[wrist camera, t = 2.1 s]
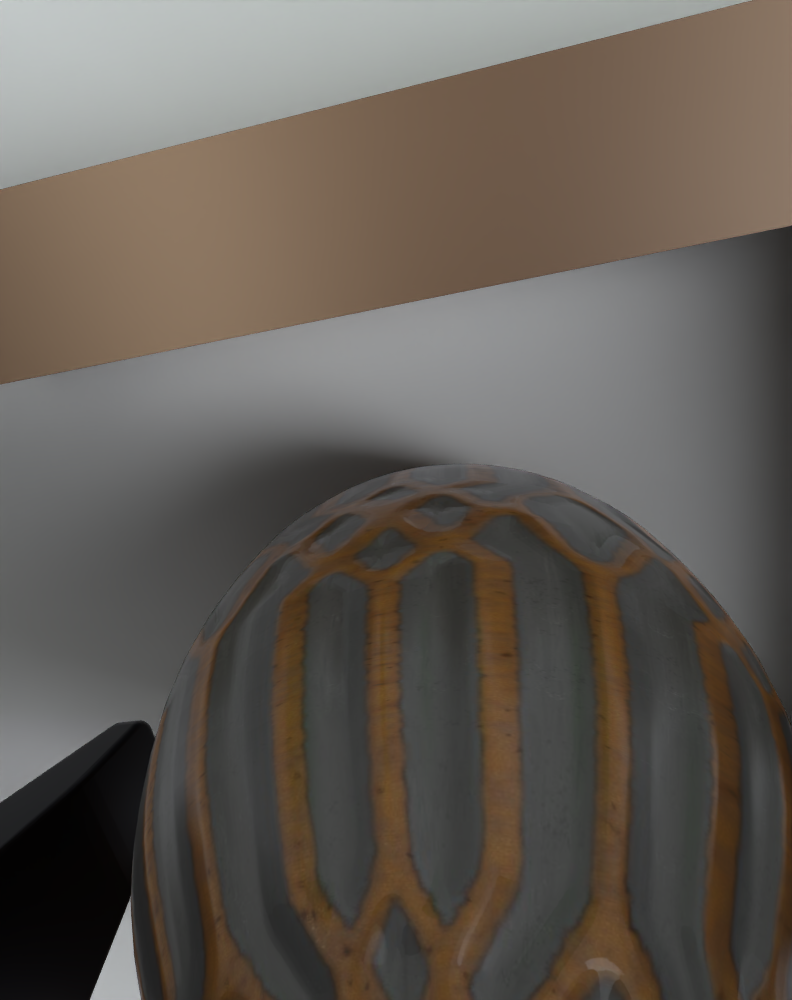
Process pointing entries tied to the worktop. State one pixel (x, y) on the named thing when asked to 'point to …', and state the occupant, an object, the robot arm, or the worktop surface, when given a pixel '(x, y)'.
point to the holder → (407, 194)
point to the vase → (466, 765)
